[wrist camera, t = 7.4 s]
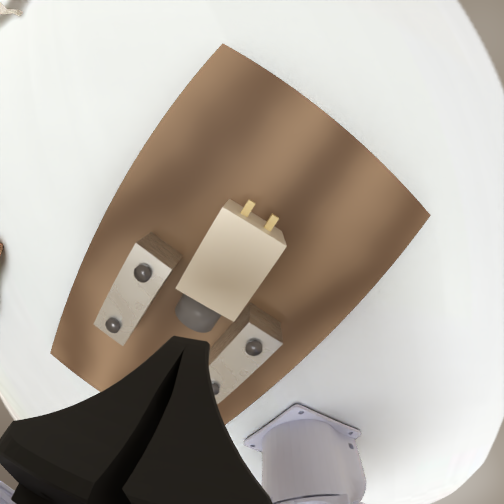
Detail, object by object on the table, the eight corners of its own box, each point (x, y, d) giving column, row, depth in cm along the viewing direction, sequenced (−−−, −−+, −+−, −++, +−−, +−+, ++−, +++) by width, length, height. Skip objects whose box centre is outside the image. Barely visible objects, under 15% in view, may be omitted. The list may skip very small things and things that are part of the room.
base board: (423, 212, 17) (430, 215, 16) (197, 438, 25) (196, 445, 24) (224, 49, 15) (222, 43, 14) (55, 347, 22) (50, 353, 21)
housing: (280, 322, 19) (283, 346, 16) (221, 381, 21) (217, 406, 18) (151, 231, 17) (133, 244, 14) (108, 307, 19) (91, 326, 16)
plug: (222, 318, 19) (216, 346, 16) (175, 291, 18) (160, 315, 15) (289, 219, 17) (296, 232, 14) (236, 186, 16) (231, 192, 13)
